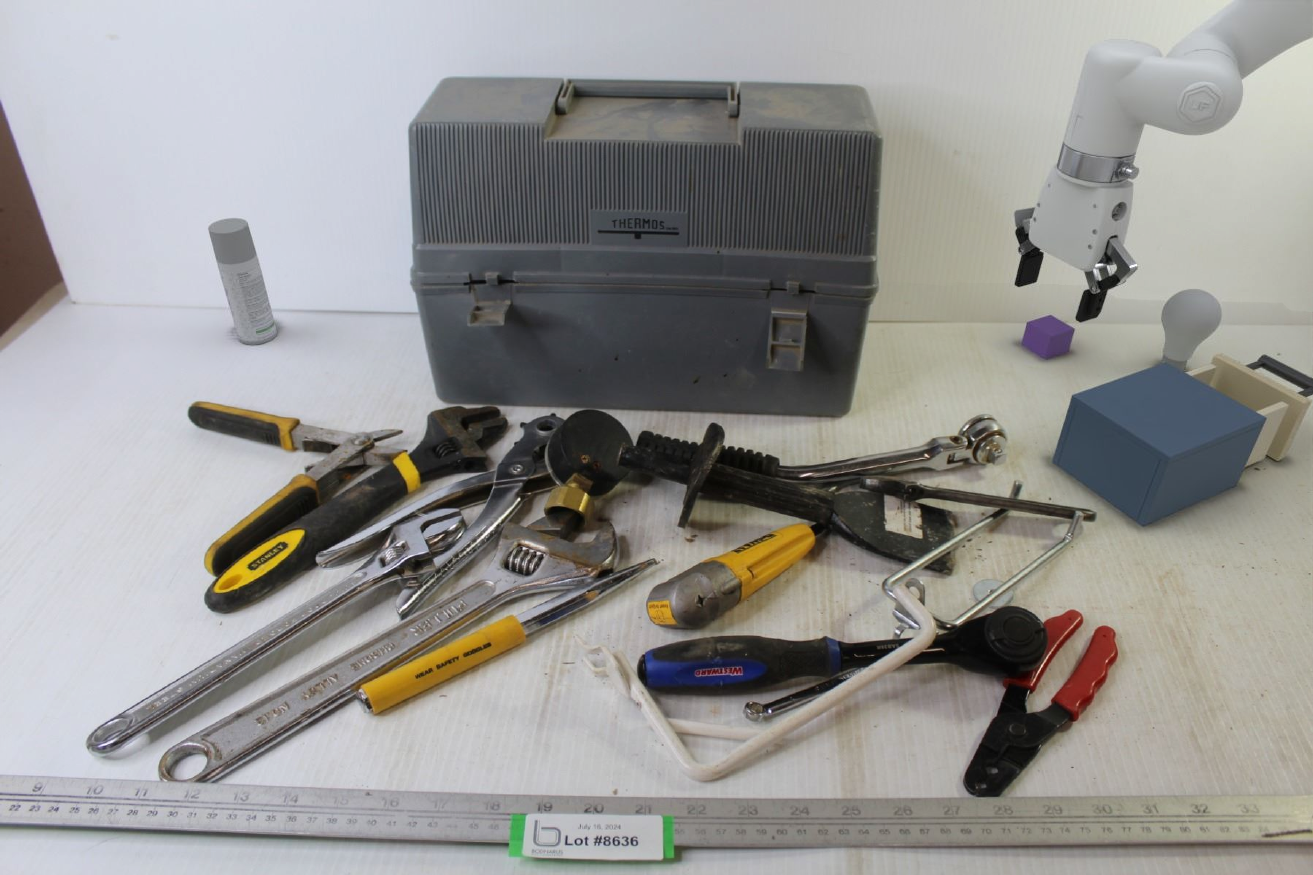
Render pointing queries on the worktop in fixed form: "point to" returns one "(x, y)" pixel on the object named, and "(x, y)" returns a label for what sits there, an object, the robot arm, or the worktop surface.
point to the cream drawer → (1262, 398)
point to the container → (242, 280)
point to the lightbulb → (1188, 324)
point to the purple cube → (1047, 337)
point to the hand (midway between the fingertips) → (1054, 301)
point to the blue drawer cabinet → (1156, 442)
